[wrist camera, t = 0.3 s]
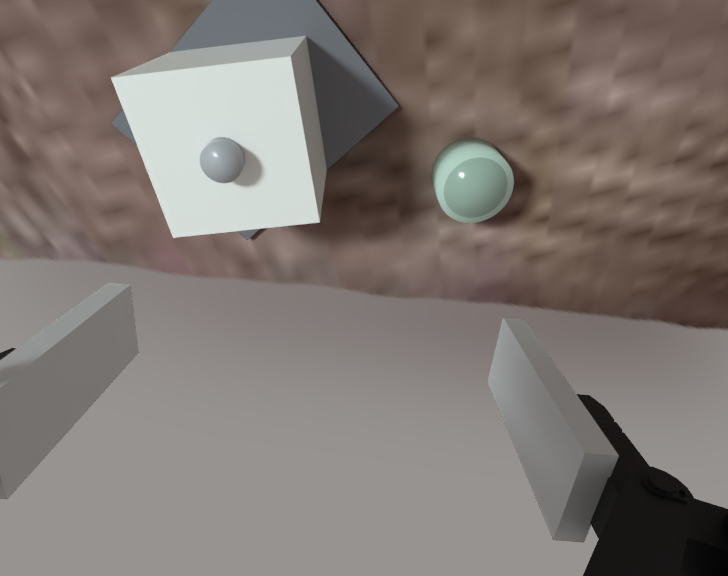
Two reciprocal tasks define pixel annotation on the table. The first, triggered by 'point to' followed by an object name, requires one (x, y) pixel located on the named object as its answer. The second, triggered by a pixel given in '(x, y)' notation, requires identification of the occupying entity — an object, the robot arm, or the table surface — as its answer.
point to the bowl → (471, 180)
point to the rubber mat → (327, 58)
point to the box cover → (229, 135)
